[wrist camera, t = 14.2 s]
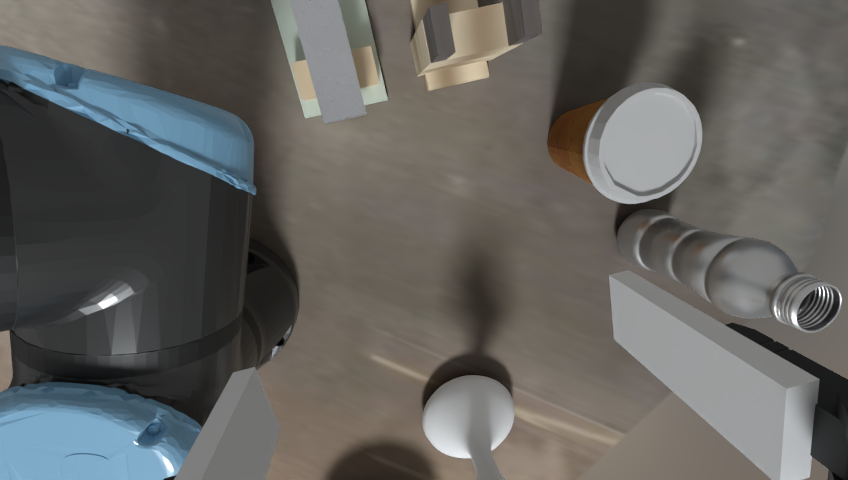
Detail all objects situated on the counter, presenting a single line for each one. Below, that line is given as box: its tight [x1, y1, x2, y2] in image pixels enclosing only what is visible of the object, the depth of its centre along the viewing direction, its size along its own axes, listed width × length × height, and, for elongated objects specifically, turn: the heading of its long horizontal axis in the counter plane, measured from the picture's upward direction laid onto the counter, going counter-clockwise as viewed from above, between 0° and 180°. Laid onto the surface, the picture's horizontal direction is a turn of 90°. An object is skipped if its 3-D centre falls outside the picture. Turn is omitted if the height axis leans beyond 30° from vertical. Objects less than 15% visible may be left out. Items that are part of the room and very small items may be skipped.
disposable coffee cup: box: [548, 82, 702, 204], centre depth 37 cm, size 10×10×12 cm
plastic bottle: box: [617, 209, 842, 333], centre depth 37 cm, size 6×7×20 cm
